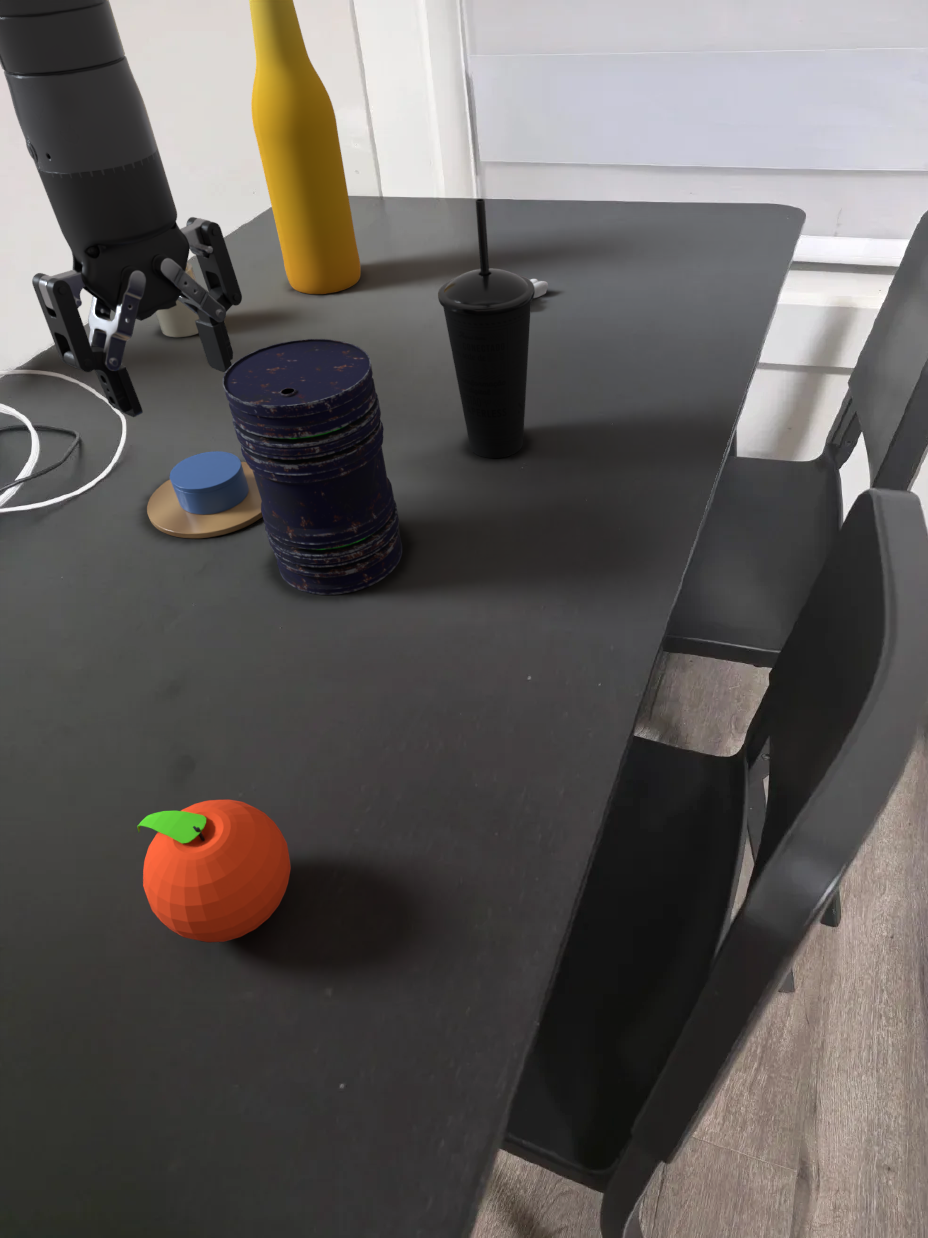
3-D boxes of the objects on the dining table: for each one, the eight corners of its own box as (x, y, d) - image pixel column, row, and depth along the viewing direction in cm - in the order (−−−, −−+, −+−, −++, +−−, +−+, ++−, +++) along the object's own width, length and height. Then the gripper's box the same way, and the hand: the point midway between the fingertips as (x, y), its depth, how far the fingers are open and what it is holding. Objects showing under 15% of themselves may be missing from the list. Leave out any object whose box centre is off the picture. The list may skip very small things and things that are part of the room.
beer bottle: (375, 282, 105) (328, -16, 85) (307, 301, 102) (242, -5, 81) (342, 262, 111) (291, -22, 90) (277, 280, 108) (209, -11, 87)
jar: (158, 339, 96) (130, 259, 90) (165, 320, 100) (139, 242, 94) (206, 334, 97) (182, 254, 90) (211, 316, 100) (188, 237, 94)
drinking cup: (473, 475, 73) (449, 224, 58) (442, 435, 78) (414, 195, 63) (553, 453, 74) (549, 204, 60) (518, 416, 80) (506, 178, 65)
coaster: (126, 536, 69) (124, 531, 68) (179, 464, 76) (177, 459, 76) (255, 540, 67) (253, 535, 67) (295, 467, 75) (294, 462, 75)
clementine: (126, 936, 43) (67, 860, 38) (205, 829, 48) (162, 748, 43) (257, 986, 41) (214, 913, 36) (328, 869, 46) (298, 789, 40)
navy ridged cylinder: (292, 519, 69) (242, 340, 59) (410, 516, 69) (382, 335, 58) (263, 597, 62) (201, 409, 52) (395, 595, 62) (359, 405, 51)
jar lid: (184, 480, 74) (175, 454, 72) (251, 472, 74) (244, 447, 72) (174, 518, 69) (164, 492, 68) (246, 510, 70) (237, 484, 68)
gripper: (25, 189, 48) (130, 444, 60) (221, 129, 56) (279, 365, 67) (-42, 171, 51) (69, 416, 63) (151, 117, 59) (219, 344, 71)
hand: (178, 389), depth 65 cm, fingers open, 8 cm apart
